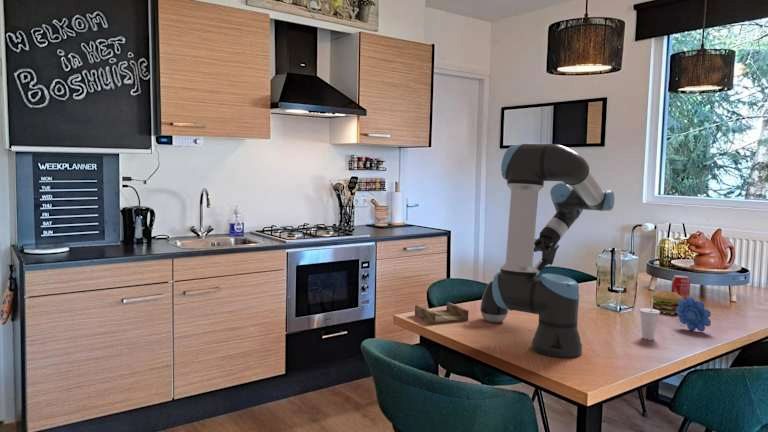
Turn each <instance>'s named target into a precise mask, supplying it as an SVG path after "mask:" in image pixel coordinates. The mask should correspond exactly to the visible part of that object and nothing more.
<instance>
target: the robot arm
mask: <svg viewBox="0 0 768 432" xmlns="http://www.w3.org/2000/svg"><path fill="white" fill-rule="evenodd" d="M500 172H501V177H502V178H503V179H504V180H505V181H506V186H507V187H508V188H509V189H510V200H509V203H510V204H509V212H508V213H509V214H508V216H509V217H508V225H507V226H508V227H507V239H506V240H507V241H506V242H507V243H506V256H505V257H506V258H505V263H504V264H503V265H501V267H500V269H499V270H500V271H499V272H496V274H494V276H493V280H492V281H493V284H492V291H493V297H494V300H495V302H496V304H497V305H498V306H499V307H501V308H505V309H508V311H516V312H521V313H527V314H534V315H538V325H537V328H536V330H535V333H534V337H533V338H532V341H531V349H532V351H534V352H536V353H538V354H541V355H544V356H547V357H554V358H564V359H565V358H567V359H570V358H576V357H579V356H581V355H582V353H583V344H582V342H581V338H580V333H579V329H578V319H579V304H580V301H579V300H580V286H579V283H578V282H577V281H576V280H575V279H573V278H571V277H568V276H565V275H560V274H556V273H553V274H552V273H542V274H541V275H540V276H539V277H538V275H539V274H540V272H542V271H543V270H544V268H546V266H552V265H553V264H554V262H555V261H554V260H555V258H556V254H557V250H558V249H559V248H560V245H559V244H558V243H559V241H560V240H561V238H562V237H563V236H564V235H565V234H566V233H567V232H568V231H569V229H570V228H571V226H572V225H573V224H574V223H575V222H576V221H577V220H578V219H579V217H580V216H581V214H582V213H583V211H585V210H587V211H600V212H605V211H606V212H607V211H608V212H610V211H612V210H613V208H614V205H615V193H614V191H613V190H609V189H602V187H601V185H600V184H599V183H598V182H597V180H596V178H595V177H594V175H592V173H591V172H590V166H589V163H588V162H587V161H586V159H585V158H584V157H583V156H582V155H581V154H579V153H578V152H576V151H575V150H573V149H571V148H569V147H567V146H564V145H561V144H557V143H551V144H550V143H549V144H545V143H544V144H543V143H542V144H541V143H537V144H536V143H535V144H533V143H522V144H513V145H511V146H509V147H508V148H507V149H506V150H505V152H504V154H503V157H502V160H501V165H500ZM546 181H547V182H559V183H556V184H554V185H553V186H552V187H551V189H550V190H549V193H550V194H549V195H550V197H551V201H552V203H553V206H554V208H555V213H554V215H553V216H552V218H550V219H549V221H548V222H547V223H546V225H545V226H544V227H543V228H542V229H541V230H540V232H539V237H538V238H537V239H536V227H537V226H536V225H537V214H538V213H537V212H538V211H537V210H538V198H539V192H540V190H542V189H543V188H544V184H545V182H546ZM536 252H541V260H539V261H538V262H537V264H535V266H534V265H533V264H534V253H536Z"/></svg>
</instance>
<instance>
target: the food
mask: <svg viewBox="0 0 768 432" xmlns="http://www.w3.org/2000/svg"><path fill="white" fill-rule="evenodd" d="M651 298H653V309H655V310H658V311H660V313H661V312H665V313H664V314H666V313H677V312H676V308H677V307H680V305H679V301H680V300H681V299H682V297H681V296H680V295H678V294H676V293H673V292H671V291H658V292H656V293H654V294H653V295H652V296H651V297H650V300H649V303H650V304H649V305H650V307H651Z"/></svg>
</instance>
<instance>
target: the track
mask: <svg viewBox="0 0 768 432" xmlns="http://www.w3.org/2000/svg"><path fill="white" fill-rule="evenodd" d="M414 316H415V317H417V318H419V319H421V320H423V321H425V322H426V323H429V324H430V325H432V326H434V325H444V324H446V325H447V324H453V323H462V322H469V309H466V308H463V307H461V306H459V305H457V304H455V303H452V302H449V301H448V302H446V309H442V310H429V309H427V308H425V307H422V306H421V305H418V304H416V305H414Z"/></svg>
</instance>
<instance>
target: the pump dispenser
mask: <svg viewBox="0 0 768 432" xmlns="http://www.w3.org/2000/svg"><path fill="white" fill-rule="evenodd" d="M492 284H493V280H492V281H490V282H489V283H488V284H487V286H486V287H485V290H484V292H483V295H482V298H481V303H480V313H481V316H482V318H483V319H484V320H485V321H486V322H489V323H492V324H493V323H497V324H498V323H501V322H503V321H504V320H505V319H506V318H507V316H508V313H509V310H508V309H505V308H501V307H499V306H498V305H497V304H496V302H495V300H494V297H493V291H492Z"/></svg>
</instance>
